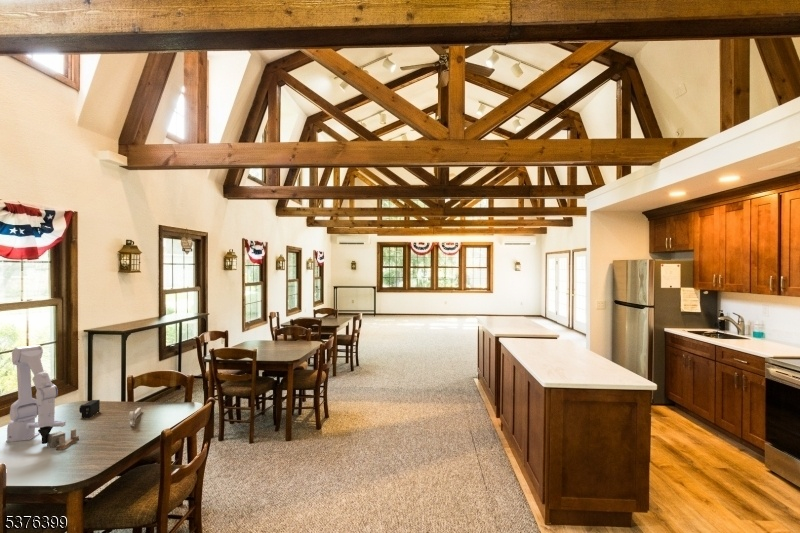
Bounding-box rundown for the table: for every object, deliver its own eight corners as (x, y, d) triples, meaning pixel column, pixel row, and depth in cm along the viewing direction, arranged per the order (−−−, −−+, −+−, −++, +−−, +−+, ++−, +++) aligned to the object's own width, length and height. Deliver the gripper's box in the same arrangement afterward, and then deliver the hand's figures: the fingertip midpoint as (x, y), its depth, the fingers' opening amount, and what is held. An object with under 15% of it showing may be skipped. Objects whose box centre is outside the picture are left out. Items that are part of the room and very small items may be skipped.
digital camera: (88, 412, 237) (88, 400, 237) (99, 411, 238) (99, 399, 238) (78, 418, 227) (79, 405, 227) (90, 417, 228) (90, 405, 228)
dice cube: (47, 445, 191) (47, 434, 191) (60, 441, 196) (60, 430, 196) (52, 447, 189) (52, 436, 189) (65, 443, 193) (65, 432, 193)
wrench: (141, 417, 237) (132, 428, 210) (137, 417, 237) (128, 429, 210) (141, 402, 238) (132, 412, 211) (137, 403, 238) (128, 412, 210)
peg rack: (56, 449, 187) (56, 438, 187) (71, 439, 198) (71, 428, 198) (64, 449, 187) (64, 438, 187) (78, 438, 199) (78, 428, 199)
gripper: (22, 417, 186) (21, 447, 186) (59, 415, 189) (58, 445, 189) (32, 411, 193) (31, 441, 193) (68, 410, 196) (67, 439, 195)
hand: (45, 443), depth 191 cm, fingers closed, pressing on dice cube
